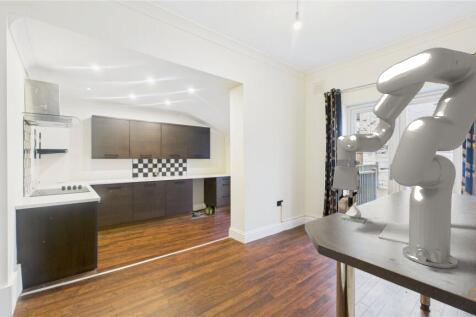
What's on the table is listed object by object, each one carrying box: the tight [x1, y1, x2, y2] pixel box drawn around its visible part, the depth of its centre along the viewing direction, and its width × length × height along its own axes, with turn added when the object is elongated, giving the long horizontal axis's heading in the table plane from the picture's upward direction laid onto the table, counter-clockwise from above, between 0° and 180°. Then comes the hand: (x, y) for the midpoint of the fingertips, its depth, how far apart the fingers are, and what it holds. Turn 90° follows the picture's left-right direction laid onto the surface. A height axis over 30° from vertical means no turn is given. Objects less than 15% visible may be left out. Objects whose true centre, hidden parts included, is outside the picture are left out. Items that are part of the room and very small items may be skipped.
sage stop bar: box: [340, 215, 366, 224], centre depth 105 cm, size 2×10×1 cm, turn 48°
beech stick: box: [337, 190, 357, 215], centre depth 99 cm, size 18×2×5 cm, turn 138°
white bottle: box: [345, 205, 362, 219], centre depth 108 cm, size 6×12×6 cm, turn 139°
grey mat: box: [377, 220, 409, 245], centre depth 90 cm, size 26×9×1 cm, turn 138°
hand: (346, 205), depth 97 cm, fingers closed on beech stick, 2 cm apart
